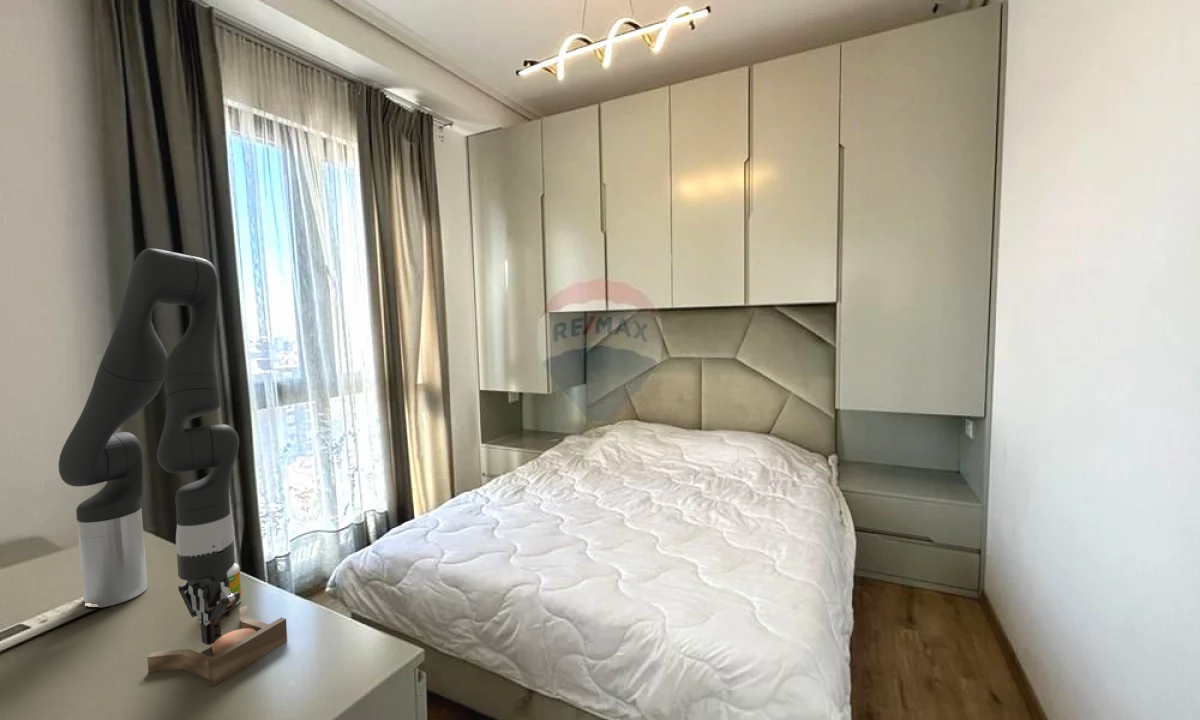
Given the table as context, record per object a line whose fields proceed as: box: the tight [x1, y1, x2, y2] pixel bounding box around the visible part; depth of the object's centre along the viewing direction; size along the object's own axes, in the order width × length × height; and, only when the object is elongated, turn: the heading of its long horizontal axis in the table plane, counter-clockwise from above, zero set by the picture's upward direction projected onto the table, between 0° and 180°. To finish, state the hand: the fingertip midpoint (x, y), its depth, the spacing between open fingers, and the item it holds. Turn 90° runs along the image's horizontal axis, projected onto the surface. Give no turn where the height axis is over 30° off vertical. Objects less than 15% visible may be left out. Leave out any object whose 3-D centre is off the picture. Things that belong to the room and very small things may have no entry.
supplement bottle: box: [227, 562, 242, 607], centre depth 97 cm, size 5×5×10 cm
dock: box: [146, 605, 288, 687], centre depth 83 cm, size 14×15×4 cm
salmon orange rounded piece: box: [211, 628, 256, 657], centre depth 83 cm, size 6×6×2 cm
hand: (211, 641), depth 84 cm, fingers closed
